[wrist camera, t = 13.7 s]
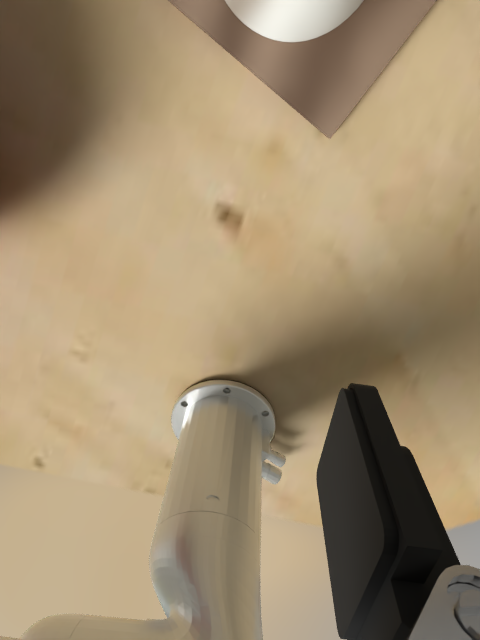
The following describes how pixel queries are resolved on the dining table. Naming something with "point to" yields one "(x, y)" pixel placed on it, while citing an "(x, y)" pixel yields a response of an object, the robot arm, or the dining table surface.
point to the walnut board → (311, 46)
